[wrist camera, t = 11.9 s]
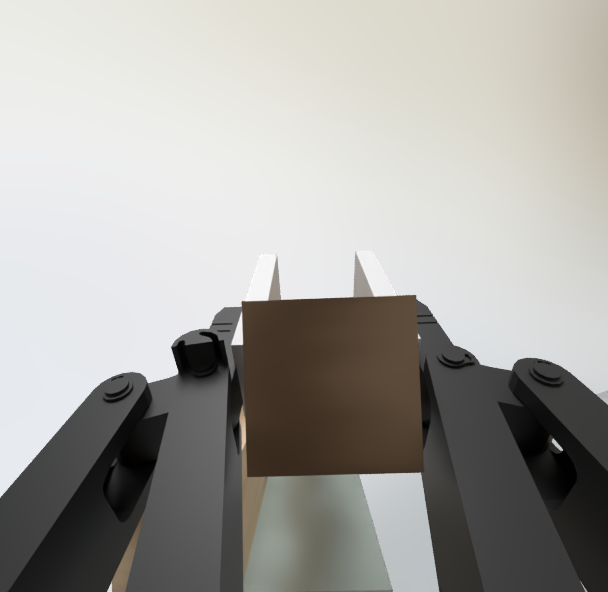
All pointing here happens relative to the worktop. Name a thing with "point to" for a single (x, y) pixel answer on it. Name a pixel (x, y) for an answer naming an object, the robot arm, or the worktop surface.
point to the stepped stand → (300, 535)
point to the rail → (332, 386)
